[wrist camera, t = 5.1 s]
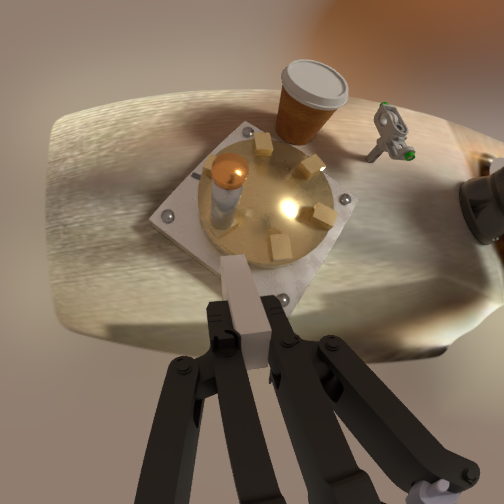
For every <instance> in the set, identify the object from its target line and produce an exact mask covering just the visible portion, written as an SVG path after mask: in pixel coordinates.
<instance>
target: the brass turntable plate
mask: <svg viewBox="0 0 504 504" xmlns="http://www.w3.org/2000/svg"><path fill="white" fill-rule="evenodd" d="M325 167H326V165H325V164H324V163H323V162H322V160H321V159H320V158H319V157H318V156H317V155H316V154H314V155H312V156H310V157H308V156H307V155H306V154H304V153H303V152H302V151H300V150H298V149H297V148H295V147H293V146H291V145H288V144H286V143H283V142H280V141H275V140H271V136H270V133H263V132H254V134H253V137H252V139H248V140H243V141H239V142H236V143H233V144H231V145H229V146H227V147H225V148H224V149H222V150H221V151H219V152H218V153H217V154H216V155H213V154H210V155H209V157H208V158H207V160H206V162H205V163H204V165H203V166H202V175H201V177H200V181H199V185H198V211H199V217H200V221H201V224H202V227H203V229H204V231H205V233H206V235H207V237H208V238H209V239H210V241H211V242H212V243H213V245H214V246H215V247H216V248H217V249H218V250H219V251H220V252H222V253H223V254H224V255H225V256H229V255H242V254H245V257H246V260H247V263H248V266H249V267H253V268H258V269H275V268H281V267H285V266H288V265H291V264H293V263H295V262H297V261H299V260H300V259H302V258H303V257H305V256H306V255H307V254H309V253H310V252H311V251H313V250H314V249H315V248H316V247H317V246H318V245H319V244H320V243H321V242H322V241H323V239H324V238H325V237H326V235H327V233H328V231H329V230H330V229H331V228H333V227H334V224H335V220H336V217H337V214H338V212H337V211H335V210H334V201H333V195H332V191H331V188H330V185H329V182H328V181H327V179H326V177H325V175H324V173H323V172H322V171H323V169H324V168H325Z"/></svg>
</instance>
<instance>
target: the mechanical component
mask: <svg viewBox="0 0 504 504" xmlns="http://www.w3.org/2000/svg"><path fill="white" fill-rule="evenodd" d="M397 118H398V119H397ZM374 123H375V125H376V127H377V130H378V132H379V134H380V136H381V137H380V138H379V139H377V145H376V146H375V148H374V149H373V150H372V151H371V152H370V153H369V154H368V155H367V157H366V160H367V161H368V162H371V161H373V162H374V161H375V160H376V159H377V158H378V157H379V156H380V155H381V154H382V153H383V152H384V151H385V152H388V153H389V156H390V157H391V158H392V159H395V160H406V161H411V160H413V159H414V158H415V155H414V154H415V150H414V148H413V147H410V146H408V147H407V145H406V143H405V140H406V139H407V137H406V135H407V134H408V128H407V126H406V125H405V124H404V122H403V120H402V118H401V116H400V114H399V113H398V111H397V109H396V107H395V106H391V105H389V104H388V103H387V102H383V103H381V104H380V108H379V109H378V111H377V113H376V114H375V116H374ZM399 145H401V146H402V148H401V147H400V146H399Z"/></svg>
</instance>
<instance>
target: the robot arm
mask: <svg viewBox="0 0 504 504" xmlns="http://www.w3.org/2000/svg"><path fill="white" fill-rule="evenodd" d="M460 202H461V207H462V211H463V214H464V217H465V219H466V222H467V224H468V226H469V228H470V230H471V231H472V233H473V234H474V236H475V237H476V238H477V239H478V240H479V241H480V242H481V243H483V244H485V245H489V244H491V243H494V242H496V241H497V240H498V239H499V238H500V237H501V236H502V235H503V234H504V167H502V168H501V169H499V170H498V171H496V172H495V173H493V174H491V175H490V176H484V177H479V178H473V179H470V180H468V181H466V182H465V183H463V184H462V186H461V188H460ZM220 261H221V285H222V295H223V300H224V301H215V302H209V304H208V306H207V308H206V310H207V320H208V329H209V337H210V344H211V345H210V349H209V350H208V352H207V353H206V354H204V355H203V356H201V357H198V358H196V359H193V358H192V357H188V356H180V357H177V358H175V359H174V360H172V361H171V363H170V365H169V367H168V370H167V374H166V377H165V381H164V384H163V387H162V391H161V395H160V398H159V402H158V406H157V409H156V413H155V417H154V421H153V424H152V429H151V433H150V436H149V440H148V444H147V448H146V452H145V456H144V461H143V465H142V469H141V474H140V478H139V483H138V487H137V492H136V497H135V502H134V504H189V499H190V492H191V485H192V478H193V472H194V465H195V458H196V451H197V445H198V438H199V432H200V425H201V419H202V413H203V407H204V400H205V398H207V397H210V396H212V395H215V394H217V393H218V399H219V405H220V411H221V417H222V422H223V427H224V433H225V438H226V444H227V448H228V454H229V458H230V463H231V468H232V473H233V477H234V482H235V486H236V491H237V495H238V499H239V503H240V504H286V501H285V499H284V497H283V496H282V494H281V492H280V490H279V487H278V483H277V480H276V477H275V473H274V470H273V466H272V463H271V460H270V456H269V453H268V449H267V446H266V442H265V438H264V435H263V431H262V428H261V424H260V420H259V417H258V413H257V409H256V405H255V401H254V397H253V394H252V390H251V386H250V382H249V378H248V374H247V370H250V369H258V368H264V367H268V362H269V365H270V368H271V369H270V376H269V384H271V382H272V383H273V386H274V389H275V393H276V396H277V399H278V402H279V405H280V408H281V412H282V414H283V418H284V421H285V424H286V427H287V430H288V433H289V436H290V439H291V442H292V446H293V449H294V452H295V455H296V457H297V461H298V463H299V467H300V470H301V472H302V476H303V479H304V481H305V484H306V487H307V490H308V502H309V504H386V503H383V502H381V501H380V499H379V497H378V495H377V493H376V490H375V488H374V486H373V483H372V481H371V479H370V477H369V475H368V474H367V473H366V472H365V471H363V470H361V469H359V467H358V466H357V464H356V461H355V459H354V457H353V455H352V452H351V450H350V448H349V445H348V443H347V441H346V439H345V436H344V434H343V432H342V430H341V427H340V425H339V423H338V420H337V418H336V416H335V413H336V414H337V415H338V417H339V418H340V419H341V420H342V421H343V423H344V424H345V425H346V427H347V428H348V429H349V430H350V431H351V433H352V434H353V435H354V436H355V438H356V439H357V440H358V441H359V443H360V444H361V445H362V446H363V447H364V449H365V450H366V451H367V452H368V454H369V455H370V456H371V457H372V458H373V460H374V461H375V462H376V463H377V464H378V466H379V467H380V468H381V469H382V470H383V472H384V473H385V474H386V475H387V476H388V477H389V479H390V480H391V481H392V482H393V483H394V484H395V485H396V486H398V487H399V488H400V489H402V490H403V491H405V492H407V493H408V496H407V497H406V503H407V504H456V503H457V500H458V498H459V496H460V494H461V492H462V491H465V490H467V489H469V488H471V487H473V486H474V485H475V484H476V483H477V481H478V479H479V476H480V469H479V467H478V465H477V464H476V463H475V462H473V461H471V460H468V459H466V458H464V457H461V456H459V455H457V454H455V453H453V452H451V451H448V450H447V449H445V448H444V447H443V446H442V445H441V444H440V443H439V442H438V441H437V439H436V438H435V437H434V436H433V435H432V434H431V433H430V432H429V431H428V430H427V429H426V428H425V427H424V426H423V425H422V423H421V422H420V421H419V420H418V419H417V418H416V417H415V416H414V415H413V414H412V413H411V412H410V411H409V410H408V408H407V407H406V406H405V405H404V404H403V403H402V402H401V401H400V400H399V399H398V398H397V397H396V396H395V395H394V394H393V392H391V390H390V389H389V388H387V386H386V385H385V384H384V383H383V382H382V381H381V380H380V379H379V378H378V377H377V376H376V374H375V373H374V372H373V371H372V370H371V369H370V368H369V367H368V366H367V365H366V364H365V363H364V362H363V361H362V360H361V359H360V358H359V356H358V355H357V354H356V353H355V352H354V351H353V350H352V349H351V348H350V347H349V346H348V345H347V344H346V343H345V342H344V341H343V340H342V339H341V338H340V337H337V336H334V335H327V336H324V337H323V338H321V339H320V341H319V342H314V341H306V340H303V339H301V338H300V337H299V336H298V335H297V334H295V333H294V332H293V330H292V327H291V325H290V323H289V321H288V318H287V316H286V314H285V311H284V309H283V308H282V305H281V302H280V300H279V299H278V298H276V297H275V296H274V295H267V296H259V294H258V291H257V288H256V285H255V282H254V280H253V277H252V274H251V271H250V268H249V266H248V263H247V260H246V257H245V254H242V255H229V256H220ZM333 410H334V411H335V413H334V411H333Z"/></svg>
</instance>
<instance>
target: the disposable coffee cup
mask: <svg viewBox="0 0 504 504" xmlns="http://www.w3.org/2000/svg"><path fill="white" fill-rule="evenodd" d="M281 79H282V84H283V85H282V91H281V97H280V103H279V109H278V115H277V122H276V131H277V133H278V134H279V136H280V137H281V138H282V139H283V140H285V141H287V142H289V143H291V144H295V145H304V144H307V143H309V142H310V141H311V140H312V138H313V137H314V136H315V135H316V134H317V132H318V131H319V130H320V129H321V128H322V126H323V125H324V124H325V123H326V122H327V120H328V119H329V118H330V117H331V116H332V115H333V113H334V112H335V111H336V110H337V109H338V108H340V107H341V106H343V105H344V104H345V103H346V102H347V100H348V85H347V83H346V81H345V79H344V78H343V77H342V76H341V75H340V74H339V73H338V72H337V71H336V70H334V69H333V68H331V67H329V66H327V65H325V64H323V63H320V62H317V61H313V60H305V59H303V60H296V61H293V62H292V63H290V64H289V65H288V67H286V68H285V69H284V70H283V72H282V75H281Z"/></svg>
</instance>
